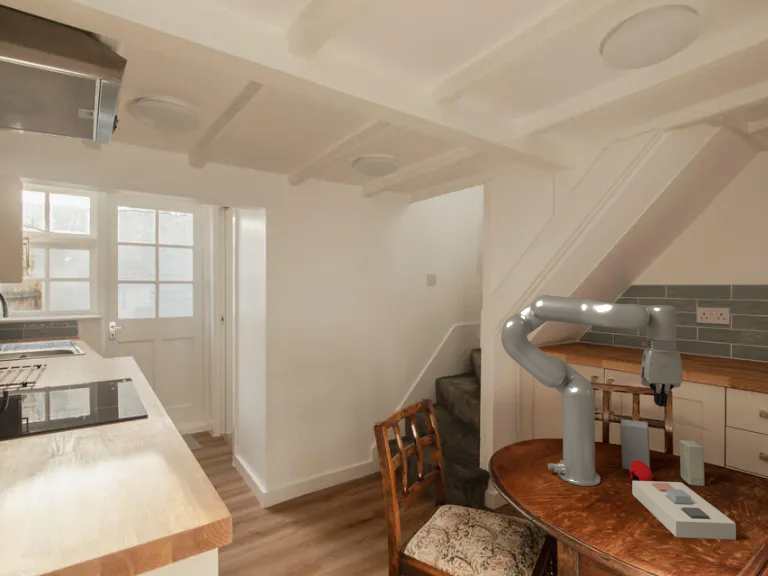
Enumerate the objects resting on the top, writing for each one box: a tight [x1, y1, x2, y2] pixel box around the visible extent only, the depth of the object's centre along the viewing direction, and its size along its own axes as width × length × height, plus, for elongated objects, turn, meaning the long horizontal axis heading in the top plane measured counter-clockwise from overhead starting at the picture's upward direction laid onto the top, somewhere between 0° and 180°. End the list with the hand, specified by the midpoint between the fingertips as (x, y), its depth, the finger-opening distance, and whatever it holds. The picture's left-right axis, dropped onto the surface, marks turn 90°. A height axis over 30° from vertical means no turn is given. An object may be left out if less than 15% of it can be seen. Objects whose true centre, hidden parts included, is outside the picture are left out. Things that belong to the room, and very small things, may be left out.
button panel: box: [631, 480, 737, 541], centre depth 116 cm, size 14×22×4 cm, turn 175°
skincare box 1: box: [620, 418, 651, 471], centre depth 146 cm, size 8×7×16 cm
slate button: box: [667, 489, 691, 505], centre depth 116 cm, size 4×4×3 cm
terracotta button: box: [653, 483, 674, 492], centre depth 123 cm, size 4×4×3 cm
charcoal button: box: [682, 507, 709, 519], centre depth 109 cm, size 4×4×3 cm
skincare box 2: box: [679, 439, 705, 487], centre depth 136 cm, size 6×4×12 cm
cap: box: [628, 460, 655, 481], centre depth 136 cm, size 8×6×6 cm
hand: (660, 405), depth 129 cm, fingers closed
